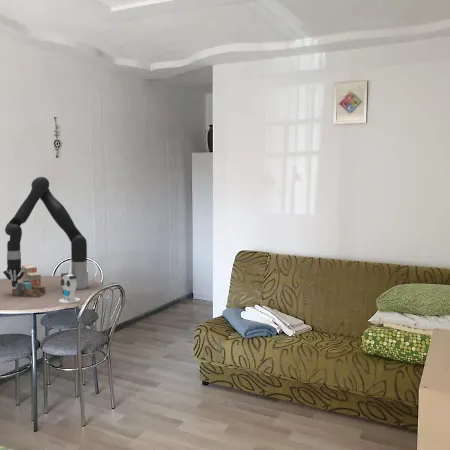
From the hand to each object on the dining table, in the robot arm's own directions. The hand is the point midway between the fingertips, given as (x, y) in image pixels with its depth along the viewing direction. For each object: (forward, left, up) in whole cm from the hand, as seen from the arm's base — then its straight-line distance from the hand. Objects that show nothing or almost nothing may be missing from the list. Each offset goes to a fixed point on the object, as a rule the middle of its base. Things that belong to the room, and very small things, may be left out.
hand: (14, 286), depth 283 cm
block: (-6, 0, -4) cm, 7 cm away
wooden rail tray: (-9, 0, -4) cm, 10 cm away
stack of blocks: (+1, -21, -5) cm, 22 cm away
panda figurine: (-37, +8, -5) cm, 38 cm away
